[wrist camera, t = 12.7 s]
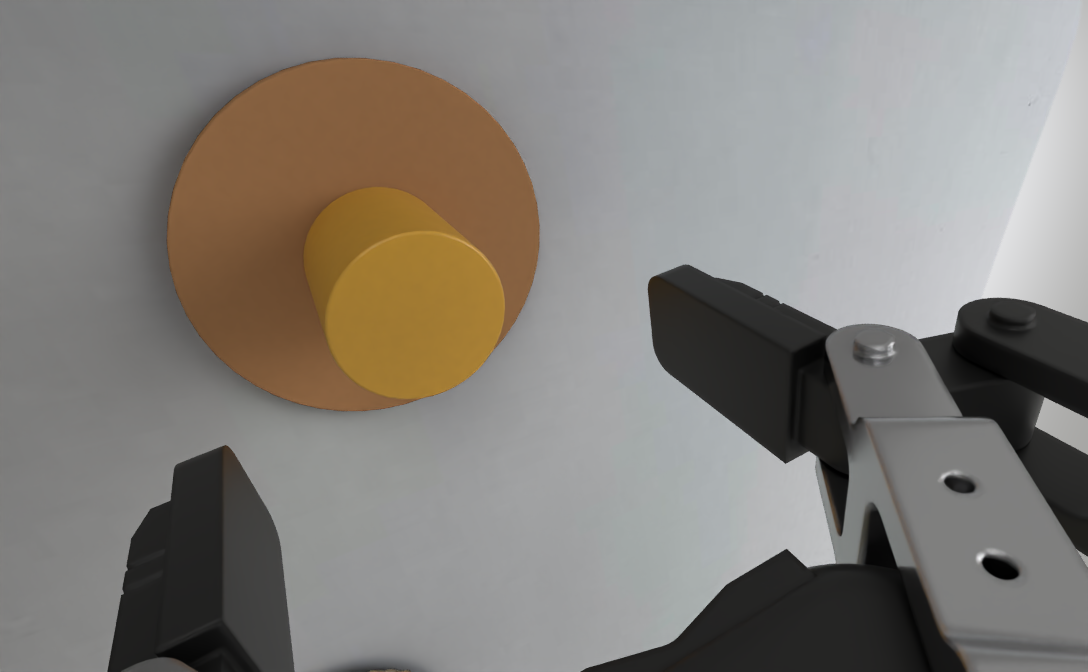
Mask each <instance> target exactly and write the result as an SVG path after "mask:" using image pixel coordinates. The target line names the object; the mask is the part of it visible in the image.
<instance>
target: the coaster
mask: <svg viewBox="0 0 1088 672" xmlns="http://www.w3.org/2000/svg"><path fill="white" fill-rule="evenodd" d="M370 187H388V188H393V189H398V190H401V191H404V192H407V193H409V194H411V195H413V196H415V197H417V198H418V199H420V200H421V201H423V202H424V203H425V204H426V205H428V206H429V207H430V208H431V209H432V210H433V211H435V212H436V213H437V214H438V215H439V216H440V217H441V218H443V219H444V220H445V221H446V222H447V223H448V224H450V225H451V226H452V227H453V228H454V229H455V230H457V231H458V232H459V233H460V234H461V235H462V236H463V237H465V238H466V239H467V240H468V241H469V242H470V243H472V244H473V245H474V246H475V247H476V248H477V249H479V250H480V251H481V252H482V253H483V254H484V255H485V256H486V257H487V259H488V260H489V261H490V262H491V264H492V265H493V267H494V268H495V270H496V272H497V274H498V276H499V278H500V281H501V284H502V288H503V293H504V299H505V313H504V322H503V326H502V330H501V333H500V336H499V339H498V341H497V343H496V345H495V347H494V349H495V348H496V347H497V345H498V344H499V343H500V342H501V341H502V340H503V338H504V337H505V336H506V334H507V333H508V331H509V330H510V328H511V327H512V325H513V324H514V322H515V321H516V319H517V317H518V315H519V313H520V311H521V309H522V307H523V306H524V304H525V301H526V298H527V296H528V293H529V291H530V288H531V285H532V282H533V278H534V274H535V270H536V266H537V259H538V251H539V217H538V209H537V202H536V198H535V194H534V190H533V186H532V182H531V180H530V177H529V175H528V172H527V169H526V167H525V164H524V162H523V160H522V158H521V157H520V155H519V153H518V151H517V149H516V147H515V146H514V144H513V142H512V141H511V140H510V138H509V137H508V135H507V134H506V133H505V131H504V130H503V129H502V127H501V126H500V125H499V124H498V122H497V121H496V120H495V119H494V118H493V117H492V116H491V115H490V114H489V113H488V112H487V111H486V110H485V109H484V108H483V107H482V106H481V105H479V104H478V103H477V102H476V101H474V100H473V99H472V98H471V97H469V96H468V95H467V94H466V93H464V92H463V91H461V90H459V89H458V88H456V87H455V86H453V85H451V84H450V83H448V82H446V81H445V80H443V79H440V78H438V77H436V76H434V75H431V74H429V73H427V72H424V71H422V70H420V69H416V68H413V67H409V66H405V65H402V64H398V63H395V62H389V61H382V60H374V59H367V58H333V59H326V60H319V61H312V62H307V63H304V64H301V65H297V66H294V67H290V68H287V69H284V70H281V71H279V72H277V73H275V74H273V75H270V76H268V77H266V78H264V79H262V80H260V81H258V82H256V83H255V84H253V85H252V86H250V87H249V88H247V89H246V90H244V91H243V92H241V93H240V94H238V95H236V96H235V97H234V98H233V99H232V100H231V101H230V102H228V103H227V104H226V105H225V106H224V107H223V108H222V109H221V110H220V111H218V112H217V113H216V114H215V115H214V116H213V118H212V119H211V120H210V121H209V123H208V124H207V125H206V126H205V128H204V129H203V130H202V131H201V133H200V134H199V135H198V137H197V138H196V140H195V142H194V143H193V145H192V147H191V149H190V150H189V152H188V154H187V156H186V157H185V159H184V162H183V164H182V167H181V170H180V172H179V175H178V178H177V180H176V183H175V186H174V188H173V192H172V197H171V202H170V207H169V212H168V222H167V249H168V258H169V266H170V271H171V274H172V278H173V282H174V285H175V289H176V293H177V295H178V297H179V299H180V302H181V304H182V306H183V308H184V310H185V313H186V315H187V317H188V318H189V320H190V321H191V323H192V325H193V326H194V328H195V329H196V331H197V332H198V334H199V336H200V337H201V338H202V339H203V341H204V342H205V343H206V344H207V345H208V346H209V348H210V349H211V350H212V351H213V352H214V353H215V355H216V356H218V357H219V358H220V359H221V360H222V361H223V362H224V363H225V364H227V365H228V366H229V367H230V368H231V369H232V370H233V371H234V372H236V373H237V374H239V375H240V376H242V377H243V378H245V379H246V380H248V381H249V382H251V383H252V384H254V385H256V386H257V387H259V388H261V389H263V390H265V391H267V392H269V393H271V394H273V395H275V396H278V397H281V398H284V399H286V400H289V401H292V402H295V403H298V404H302V405H306V406H311V407H315V408H319V409H328V410H337V411H367V410H376V409H385V408H389V407H394V406H398V405H403V404H407V403H410V402H413V401H416V400H418V399H421V398H418V399H395V398H388V397H384V396H381V395H377V394H375V393H372V392H370V391H367V390H365V389H364V388H362V387H360V386H358V385H357V384H356V383H354V382H353V381H352V380H350V379H349V378H348V377H347V376H346V375H345V374H344V373H343V372H342V371H341V369H340V368H339V367H338V365H337V364H336V362H335V361H334V359H333V357H332V355H331V353H330V351H329V348H328V345H327V342H326V338H325V335H324V332H323V329H322V326H321V322H320V319H319V316H318V313H317V310H316V306H315V303H314V300H313V297H312V294H311V291H310V287H309V284H308V281H307V278H306V275H305V270H304V260H303V254H304V245H305V242H306V238H307V235H308V233H309V230H310V228H311V226H312V224H313V223H314V221H315V219H316V218H317V217H318V216H319V214H320V213H321V212H322V211H323V210H324V209H325V208H326V207H327V206H328V205H329V204H330V203H332V202H333V201H335V200H336V199H338V198H339V197H341V196H343V195H345V194H347V193H350V192H352V191H355V190H359V189H363V188H370ZM494 349H493V350H494Z"/></svg>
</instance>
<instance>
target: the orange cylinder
mask: <svg viewBox="0 0 1088 672" xmlns="http://www.w3.org/2000/svg"><path fill="white" fill-rule="evenodd" d="M303 260H304V270H305V275H306V278H307V281H308V284H309V287H310V291H311V294H312V297H313V300H314V303H315V306H316V310H317V313H318V316H319V319H320V322H321V326H322V329H323V332H324V335H325V338H326V342H327V345H328V348H329V351H330V353H331V355H332V357H333V359H334V361H335V362H336V364H337V365H338V367H339V368H340V369H341V371H342V372H343V373H344V374H345V375H346V376H347V377H348V378H349V379H350V380H352V381H353V382H354V383H356V384H357V385H358V386H360V387H362V388H364V389H365V390H367V391H370V392H372V393H375V394H377V395H381V396H384V397H388V398H395V399H418V398H425V397H429V396H434V395H437V394H440V393H443V392H445V391H447V390H449V389H451V388H454V387H455V386H457V385H459V384H460V383H462V382H463V381H465V380H466V379H467V378H469V377H470V376H471V375H472V374H474V373H475V372H476V371H477V370H478V369H479V368H480V367H481V366H482V364H483V363H484V362H485V361H486V360H487V358H488V357H489V355H490V354H491V352H492V351H493V349H494V347H495V345H496V343H497V341H498V339H499V336H500V333H501V330H502V326H503V322H504V313H505V299H504V293H503V288H502V284H501V281H500V278H499V276H498V274H497V272H496V270H495V268H494V267H493V265H492V264H491V262H490V261H489V260H488V259H487V257H486V256H485V255H484V254H483V253H482V252H481V251H480V250H479V249H477V248H476V247H475V246H474V245H473V244H472V243H470V242H469V241H468V240H467V239H466V238H465V237H463V236H462V235H461V234H460V233H459V232H458V231H457V230H455V229H454V228H453V227H452V226H451V225H450V224H448V223H447V222H446V221H445V220H444V219H443V218H441V217H440V216H439V215H438V214H437V213H436V212H435V211H433V210H432V209H431V208H430V207H429V206H428V205H426V204H425V203H424V202H423V201H421V200H420V199H418V198H417V197H415V196H413V195H411V194H409V193H407V192H404V191H401V190H398V189H393V188H388V187H370V188H363V189H359V190H355V191H352V192H350V193H347V194H345V195H343V196H341V197H339V198H338V199H336V200H335V201H333V202H332V203H330V204H329V205H328V206H327V207H326V208H325V209H324V210H323V211H322V212H321V213H320V214H319V216H318V217H317V218H316V219H315V221H314V223H313V224H312V226H311V228H310V230H309V233H308V235H307V238H306V242H305V245H304V254H303Z"/></svg>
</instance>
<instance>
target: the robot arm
mask: <svg viewBox="0 0 1088 672" xmlns="http://www.w3.org/2000/svg"><path fill="white" fill-rule="evenodd" d="M648 296H649V307H650V318H651V328H652V339H653V347H654V351H655V354H656V356H657V358H658V360H659V362H660V364H661V365H662V367H663V368H664V369H665V370H666V371H667V372H668V373H669V374H670V375H672V376H673V377H674V378H676V379H677V380H678V381H680V382H681V383H682V384H683V385H685V386H686V387H687V388H689V389H690V390H691V391H692V392H694V393H695V394H696V395H698V396H699V397H700V398H701V399H703V400H704V401H705V402H707V403H708V404H709V405H711V406H712V407H713V408H714V409H716V410H717V411H718V412H720V413H721V414H722V415H723V416H725V417H726V418H727V419H729V420H730V421H731V422H732V423H734V424H735V425H736V426H738V427H739V428H740V429H742V430H743V431H744V432H745V433H747V434H748V435H749V436H751V437H752V438H753V439H754V440H756V441H757V442H758V443H760V444H761V445H762V446H764V447H765V448H766V449H767V450H769V451H770V452H771V453H773V454H774V455H775V456H776V457H778V458H779V459H780V460H782V461H783V462H784V463H785V464H786V463H788V462H790V461H791V460H793V459H795V458H797V457H799V456H801V455H802V454H804V453H806V452H808V451H810V452H812V453H813V454H814V455H816V465H815V470H816V476H817V480H818V484H819V489H820V493H821V497H822V501H823V506H824V510H825V514H826V519H827V523H828V527H829V532H830V536H831V540H832V544H833V549H834V554H835V560H836V564H826V565H819V566H813V567H808V568H807V567H806V566H805V565H804V564H802V563H801V562H800V561H799V560H798V559H797V558H796V557H795V556H794V555H793V554H792V553H791V552H790V551H788V550H787V549H786V550H784V551H782V552H781V553H779V554H777V555H775V556H774V557H772V558H770V559H769V560H767V561H765V562H764V563H762V564H760V565H759V566H757V567H755V568H754V569H752V570H750V571H749V572H747V573H745V574H744V575H742V576H740V577H739V578H737V579H735V580H734V581H732V582H730V583H729V584H727V585H726V586H725V587H724V588H723V589H722V590H721V591H720V592H719V593H718V594H717V596H716V597H715V598H714V599H713V600H712V601H711V602H710V603H709V604H708V605H707V606H706V608H705V609H704V610H703V611H702V612H701V613H700V614H699V615H698V616H697V617H696V618H695V619H694V621H693V622H692V623H691V624H690V625H689V626H688V627H687V628H686V629H685V630H684V631H683V633H682V634H681V635H680V636H679V637H678V638H677V639H676V640H674V641H673V642H671V643H670V644H667V645H665V646H662V647H658V648H655V649H651V650H648V651H644V652H641V653H638V654H634V655H631V656H627V657H624V658H620V659H617V660H613V661H610V662H606V663H603V664H600V665H596V666H593V667H589V668H586V669H584V670H583V671H581V672H1088V567H1087V566H1086V565H1085V563H1084V561H1083V560H1082V558H1081V556H1080V555H1079V553H1078V551H1080V552H1082V553H1083V554H1085V555H1086V556H1088V455H1087V454H1085V453H1083V452H1081V451H1079V450H1077V449H1076V448H1074V447H1072V446H1070V445H1068V444H1066V443H1064V442H1062V441H1060V440H1059V439H1057V438H1055V437H1053V436H1051V435H1049V434H1048V433H1046V432H1044V431H1042V430H1040V429H1038V428H1036V427H1035V425H1036V422H1037V419H1038V415H1039V413H1040V410H1041V406H1042V403H1043V400H1044V397H1045V398H1048V399H1049V400H1051V401H1053V402H1055V403H1058V404H1060V405H1062V406H1064V407H1066V408H1068V409H1070V410H1072V411H1074V412H1076V413H1078V414H1080V415H1082V416H1084V417H1086V418H1088V323H1087V322H1085V321H1082V320H1080V319H1077V318H1074V317H1072V316H1069V315H1066V314H1063V313H1061V312H1058V311H1055V310H1053V309H1050V308H1047V307H1045V306H1042V305H1039V304H1036V303H1032V302H1028V301H1024V300H1018V299H1010V298H987V299H980V300H975V301H972V302H969V303H967V304H965V305H964V306H963V307H961V308H960V310H959V312H958V316H957V321H956V326H955V330H954V332H953V333H948V334H943V335H938V336H933V337H928V338H923V339H917V338H916V337H914V336H912V335H911V334H909V333H907V332H905V331H903V330H900V329H897V328H894V327H890V326H885V325H878V324H857V325H850V326H846V327H843V328H840V329H838V330H837V329H835V328H833V327H831V326H829V325H827V324H825V323H823V322H821V321H819V320H817V319H815V318H813V317H810V316H808V315H806V314H804V313H802V312H800V311H798V310H796V309H794V308H792V307H790V306H788V305H786V304H784V303H783V304H780V303H779V301H778V300H776V299H774V298H772V297H770V296H768V295H765V296H763V293H762V292H760V291H758V290H755V289H753V288H751V287H749V286H747V285H745V284H743V283H740V282H735V281H730V280H725V279H720V278H714V277H712V276H710V275H708V274H706V273H704V272H702V271H700V270H698V269H696V268H694V267H692V266H690V265H682V266H679V267H677V268H674V269H672V270H669V271H666V272H664V273H661V274H659V275H656V276H654V277H652V278H651V279H650V281H649V284H648ZM1076 549H1077V550H1078V551H1077V550H1076ZM127 568H128V571H126V572H125V577H124V583H123V588H122V590H123V592H124V594H123V595H121V599H120V605H119V611H118V616H117V622H116V627H115V633H114V638H113V644H112V650H111V655H110V661H109V666H108V672H295V671H294V662H293V653H292V644H291V635H290V626H289V617H288V608H287V599H286V590H285V581H284V572H283V563H282V554H281V546H280V541H279V537H278V533H277V530H276V527H275V525H274V522H273V520H272V518H271V515H270V513H269V511H268V510H267V508H266V506H265V505H264V503H263V501H262V499H261V498H260V496H259V494H258V493H257V491H256V489H255V488H254V486H253V484H252V483H251V481H250V479H249V477H248V476H247V474H246V472H245V471H244V469H243V467H242V466H241V464H240V462H239V461H238V459H237V457H236V456H235V454H234V453H233V451H232V450H231V449H230V448H229V447H228V446H226V445H224V446H222V447H219V448H217V449H214V450H212V451H209V452H207V453H204V454H202V455H199V456H196V457H194V458H191V459H189V460H186V461H184V462H181V463H179V464H177V465H176V466H175V468H174V475H173V484H172V493H171V501H169V502H166V503H164V504H162V505H159V506H157V507H154V508H152V509H150V511H149V512H148V514H147V515H146V517H145V518H144V520H143V521H142V523H141V525H140V526H139V528H138V529H137V531H136V532H135V534H134V535H133V537H132V538H131V544H130V549H129V555H128V560H127Z"/></svg>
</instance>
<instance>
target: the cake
mask: <svg viewBox="0 0 1088 672" xmlns="http://www.w3.org/2000/svg"><path fill="white" fill-rule="evenodd" d="M369 672H411V671H410V670H409V671H408V670H405V671H404V670H403V671H402V670H395V669H388V670H385V671H384V670H373V671H372V670H371V671H369Z"/></svg>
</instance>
